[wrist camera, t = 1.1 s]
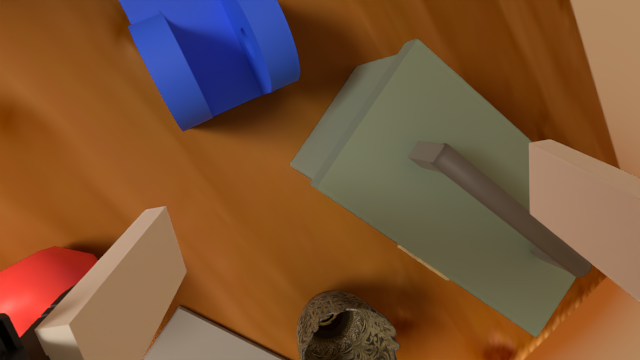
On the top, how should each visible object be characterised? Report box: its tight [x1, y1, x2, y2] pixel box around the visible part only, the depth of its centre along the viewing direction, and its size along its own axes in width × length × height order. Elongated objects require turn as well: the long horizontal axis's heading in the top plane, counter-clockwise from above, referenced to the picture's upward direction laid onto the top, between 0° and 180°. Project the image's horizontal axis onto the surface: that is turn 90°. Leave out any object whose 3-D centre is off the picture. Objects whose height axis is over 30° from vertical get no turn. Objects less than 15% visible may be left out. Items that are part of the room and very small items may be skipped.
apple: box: [0, 246, 98, 337], centre depth 28 cm, size 8×8×8 cm
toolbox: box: [290, 39, 591, 338], centre depth 32 cm, size 21×11×14 cm, turn 55°
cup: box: [297, 291, 400, 360], centre depth 34 cm, size 8×7×8 cm
